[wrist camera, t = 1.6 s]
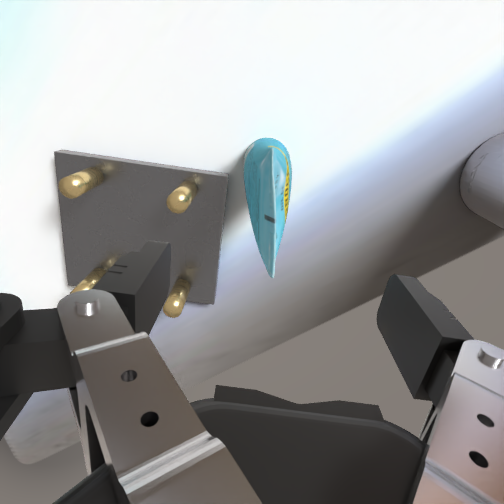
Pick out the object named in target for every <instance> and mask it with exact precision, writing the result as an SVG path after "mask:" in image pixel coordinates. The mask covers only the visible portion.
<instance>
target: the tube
mask: <svg viewBox="0 0 504 504" xmlns="http://www.w3.org/2000/svg"><path fill="white" fill-rule="evenodd" d="M291 181H292V168H291V161H290V156H289V153H288V151H287V149H286V147H285V146H284V145H283V144H282V143H281V142H279V141H278V140H276V139H273V138H262V139H259V140H257V141H255V142H253V143H252V144H251V145H250V146H249V148H248V149H247V151H246V153H245V156H244V182H245V190H246V197H247V203H248V209H249V214H250V219H251V223H252V227H253V231H254V235H255V239H256V242H257V245H258V248H259V252H260V254H261V257H262V259H263V262H264V264H265V266H266V269H267V271H268V274H269V275H270V277H271V278H274V273H275V259H276V255H277V252H278V249H279V245H280V241H281V238H282V234H283V230H284V226H285V222H286V217H287V212H288V205H289V199H290V191H291Z"/></svg>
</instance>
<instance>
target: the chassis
mask: <svg viewBox="0 0 504 504" xmlns="http://www.w3.org/2000/svg"><path fill="white" fill-rule="evenodd" d="M54 155H55V164H56V174H57V184H58V193H59V203H60V212H61V222H62V231H63V241H64V251H65V260H66V270H67V279H68V285H72V286H77V287H76V288H75V289H74V290H73V291H72V292H71V293H74V292H77V291H81V290H90V289H92V288H93V287H94V285H95V284H96V283H97V282H98V281H99V280H100V279H101V278H102V277H103V275H104V274H105V273H106V272H108V270H109V269H110V268H111V267H112V266H113V264H114V263H115V262H116V261H117V260H118V259H119V258H120V257H121V256H123V255H125V254H127V253H129V252H131V251H133V252H140V250H141V249H142V248H143V247H144V245H145V244H146V243H147V242H148V241H149V240H151V241H159V242H166V243H170V244H171V267H170V285H169V291H168V295H167V300H166V302H165V304H164V307H163V311H164V313H165V314H166V315H167V316H168V317H172V318H175V317H178V316H179V315H180V314H181V312H182V309H183V307H184V304H185V302H186V301H191V302H198V303H206V304H213V305H214V301H215V296H216V287H217V278H218V269H219V259H220V250H221V241H222V232H223V222H224V213H225V204H226V195H227V185H228V176H229V174H226V173H219V172H213V171H206V170H199V169H192V168H185V167H178V166H171V165H164V164H157V163H150V162H144V161H137V160H130V159H123V158H116V157H109V156H102V155H95V154H88V153H81V152H75V151H68V150H59V151H55V152H54ZM71 293H70V294H71Z"/></svg>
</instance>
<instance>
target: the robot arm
mask: <svg viewBox="0 0 504 504" xmlns="http://www.w3.org/2000/svg"><path fill="white" fill-rule="evenodd" d="M460 191H461V197H462V199H463V201H464V203H465V204H466V206H467V207H468V208H469V209H470V210H471V211H473V212H474V213H476V214H478V215H479V216H481V217H483V218H485V219H487V220H488V221H490V222H492V223H494V224H496V225H497V226H499V227H501V228H503V229H504V133H501V134H499V135H497V136H494V137H492V138H491V139H489V140H488V141H486V142H485V143H483V144H482V145H481V146H480V147H479V148H478V149H477V150H476V151H475V152H474V153H473V154H472V156H471V157H470V158H469V160H468V161H467V163H466V165H465V167H464V169H463V172H462V176H461V179H460ZM170 267H171V244H170V243H166V242H159V241H151V240H149V241H148V242H147V243H146V244H145V245H144V247H143V248H142V249H141V250H140V252H133V251H131V252H129V253H127V254H125V255H123V256H121V257H120V258H119V259H118V260H117V261H116V262H115V263H114V264H113V266H112V267H111V268H110V269H109V270H108V272H106V273H105V274H104V275H103V277H102V278H101V279H100V280H99V281H98V282H97V283H96V284H95V285H94V287H93V288H92V289H90V290H81V291H77V292H74V293H71V294H69V295H67V296H65V297H64V298H63V299H61V300H60V302H59V303H58V305H57V308H53V309H39V310H23V307H22V302H21V299H20V298H19V297H17V296H15V295H12V294H7V293H0V440H1V439H2V437H3V436H4V434H5V433H6V432H7V430H8V429H9V427H10V426H11V424H12V423H13V422H14V420H15V419H16V417H17V416H18V414H19V413H20V411H21V410H22V409H23V407H24V406H25V404H26V403H27V401H28V400H29V398H30V397H31V396H32V394H33V392H39V391H47V390H54V389H62V388H67V391H68V394H69V398H70V402H71V406H72V409H73V413H74V417H75V420H76V424H77V428H78V431H79V435H80V439H81V443H82V447H83V452H84V458H85V463H86V468H87V473H88V476H87V477H86V478H85V479H83V480H82V481H81V482H80V483H78V484H77V485H76V486H75V487H73V488H72V489H71V490H69V491H68V492H67V493H65V494H64V495H63V496H62V497H60V498H59V499H58V500H57V501H55V502H54V503H53V504H504V350H502V349H500V348H498V347H496V346H494V345H492V344H489V343H487V342H483V341H479V340H474V339H473V337H472V336H471V335H470V334H469V333H468V332H467V330H466V329H465V328H464V327H463V326H462V325H461V323H460V322H459V321H458V320H455V317H454V315H453V314H452V313H451V312H449V310H448V309H447V307H446V306H445V305H444V304H443V303H442V302H441V301H440V300H439V299H437V298H436V297H434V296H433V295H432V294H430V293H429V292H427V290H426V289H425V288H424V287H423V285H422V284H421V283H420V282H419V281H418V280H417V278H415V277H409V276H402V275H395V274H394V275H392V276H391V277H390V278H389V281H388V283H387V286H386V289H385V292H384V295H383V297H382V300H381V303H380V307H379V309H378V313H377V325H378V328H379V330H380V332H381V334H382V336H383V338H384V340H385V342H386V344H387V346H388V348H389V350H390V352H391V354H392V356H393V358H394V360H395V362H396V364H397V366H398V368H399V370H400V372H401V374H402V376H403V378H404V380H405V382H406V384H407V386H408V388H409V390H410V392H411V394H412V396H413V398H414V399H421V400H429V401H432V403H433V404H432V406H431V408H430V410H429V412H428V415H427V417H426V420H425V422H424V425H423V427H422V430H421V432H420V435H419V437H416V436H414V435H413V434H411V433H410V432H408V431H406V430H405V429H403V428H401V427H399V426H397V425H395V424H393V423H391V422H388V421H386V420H384V419H383V417H382V414H381V411H380V409H379V406H378V405H371V404H363V403H355V402H346V401H329V402H320V403H309V404H296V403H293V402H290V401H287V400H284V399H281V398H278V397H275V396H272V395H269V394H266V393H264V392H260V391H257V390H251V389H244V388H236V387H228V386H219V385H216V389H215V395H214V398H210V399H204V400H199V401H195V402H192V403H189V401H188V400H187V398H186V396H185V395H184V393H183V391H182V390H181V388H180V386H179V385H178V383H177V382H176V380H175V378H174V377H173V375H172V373H171V372H170V370H169V368H168V367H167V365H166V364H165V362H164V360H163V359H162V357H161V355H160V354H159V352H158V350H157V349H156V347H155V346H154V344H153V342H152V341H151V339H150V337H149V334H150V332H151V329H152V327H153V325H154V323H155V321H156V319H157V317H158V315H159V313H160V311H161V309H162V307H163V305H164V302H165V300H166V298H167V295H168V291H169V285H170Z"/></svg>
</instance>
